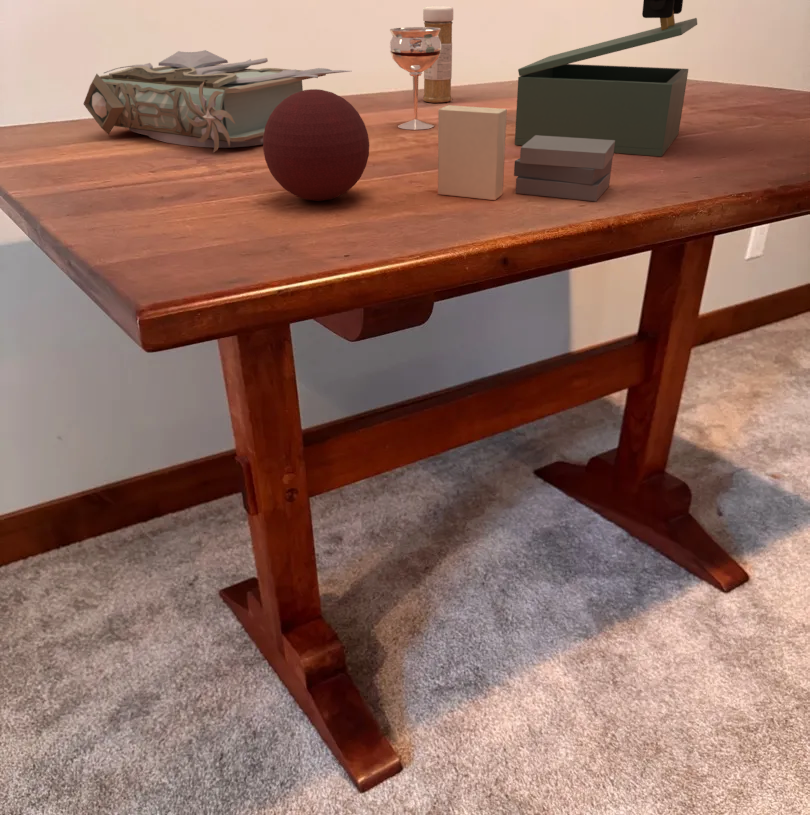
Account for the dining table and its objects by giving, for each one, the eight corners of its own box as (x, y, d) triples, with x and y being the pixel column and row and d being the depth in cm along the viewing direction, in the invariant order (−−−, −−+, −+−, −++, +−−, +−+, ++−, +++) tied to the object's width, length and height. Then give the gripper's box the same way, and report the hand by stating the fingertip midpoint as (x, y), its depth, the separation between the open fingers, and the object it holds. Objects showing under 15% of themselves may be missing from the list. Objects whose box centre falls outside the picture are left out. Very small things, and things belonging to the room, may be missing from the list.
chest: (678, 134, 102) (688, 68, 98) (661, 156, 91) (672, 84, 88) (544, 125, 109) (549, 63, 105) (514, 145, 98) (518, 76, 94)
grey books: (613, 185, 81) (619, 139, 79) (599, 202, 75) (604, 154, 73) (530, 177, 84) (532, 133, 82) (510, 193, 79) (512, 146, 76)
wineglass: (420, 119, 113) (420, 26, 107) (450, 126, 108) (452, 29, 102) (381, 125, 110) (378, 29, 104) (410, 133, 105) (409, 32, 99)
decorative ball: (335, 180, 84) (330, 78, 79) (391, 201, 77) (389, 90, 72) (250, 197, 79) (238, 89, 74) (301, 220, 72) (292, 102, 67)
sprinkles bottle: (418, 100, 128) (418, 6, 121) (444, 98, 129) (445, 5, 123) (430, 104, 124) (431, 7, 117) (457, 102, 126) (458, 6, 119)
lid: (697, 24, 96) (692, -23, 94) (681, 35, 85) (676, -19, 83) (550, 62, 105) (542, 20, 103) (519, 76, 94) (510, 29, 92)
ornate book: (81, 143, 106) (247, 160, 92) (63, 65, 102) (235, 70, 87) (203, 116, 123) (361, 127, 108) (193, 47, 118) (356, 49, 103)
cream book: (503, 194, 78) (507, 108, 74) (495, 200, 77) (498, 113, 73) (446, 188, 81) (447, 104, 77) (437, 194, 79) (438, 109, 75)
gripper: (712, -195, 74) (685, 20, 83) (730, -172, 88) (705, 10, 96) (630, -186, 77) (612, 21, 85) (660, -166, 90) (642, 11, 99)
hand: (662, 14), depth 91 cm, fingers closed on lid, 6 cm apart
